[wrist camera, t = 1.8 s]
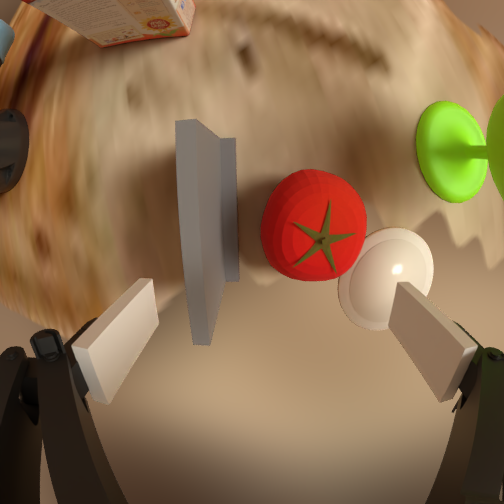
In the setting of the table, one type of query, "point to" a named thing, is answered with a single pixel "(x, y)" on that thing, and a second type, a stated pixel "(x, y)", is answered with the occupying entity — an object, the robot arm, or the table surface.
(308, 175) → the tomato
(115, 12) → the cracker box
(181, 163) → the grey board
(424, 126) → the wineglass
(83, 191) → the table surface
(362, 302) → the plate
